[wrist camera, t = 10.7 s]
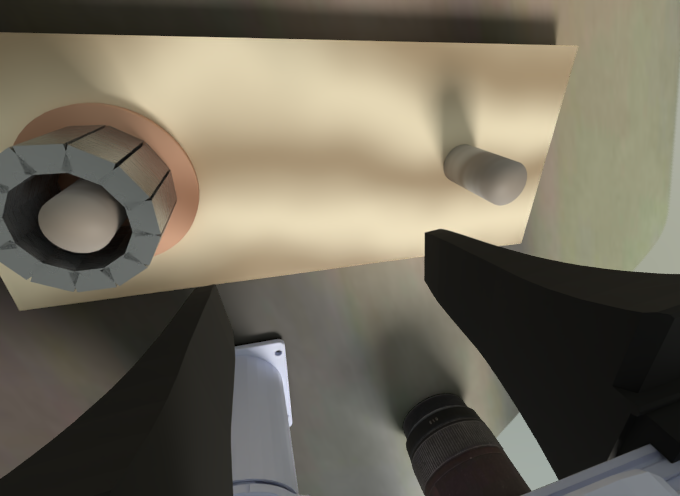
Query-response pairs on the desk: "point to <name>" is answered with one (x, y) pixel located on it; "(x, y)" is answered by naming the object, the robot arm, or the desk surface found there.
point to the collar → (96, 166)
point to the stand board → (288, 147)
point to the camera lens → (457, 452)
